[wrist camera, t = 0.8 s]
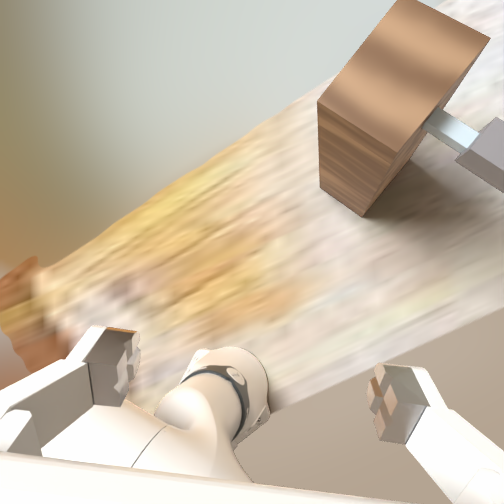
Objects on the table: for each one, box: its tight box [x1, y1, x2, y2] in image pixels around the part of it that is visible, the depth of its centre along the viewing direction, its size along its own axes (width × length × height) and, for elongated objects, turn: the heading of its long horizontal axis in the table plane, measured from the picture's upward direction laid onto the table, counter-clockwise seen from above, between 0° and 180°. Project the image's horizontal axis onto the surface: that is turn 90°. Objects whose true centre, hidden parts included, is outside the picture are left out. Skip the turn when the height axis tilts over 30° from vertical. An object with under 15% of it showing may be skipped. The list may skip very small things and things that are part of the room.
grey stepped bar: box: [422, 107, 504, 193], centre depth 35 cm, size 16×4×4 cm, turn 50°
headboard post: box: [317, 0, 491, 217], centre depth 48 cm, size 14×10×31 cm
